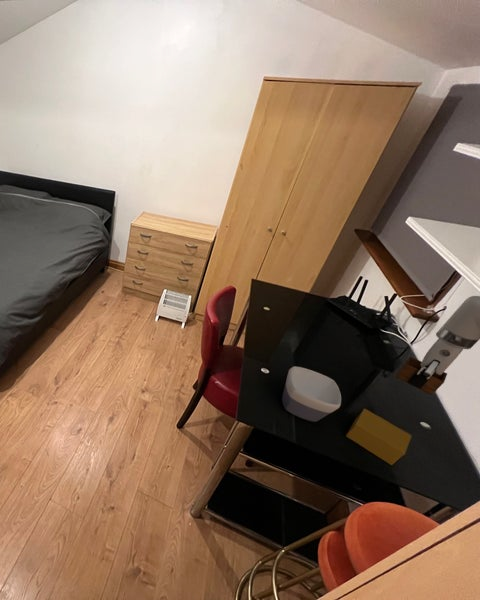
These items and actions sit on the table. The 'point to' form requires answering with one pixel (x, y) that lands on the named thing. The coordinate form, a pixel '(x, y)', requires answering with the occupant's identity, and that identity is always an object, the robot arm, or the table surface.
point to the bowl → (310, 394)
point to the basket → (413, 367)
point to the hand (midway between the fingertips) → (416, 379)
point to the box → (379, 437)
